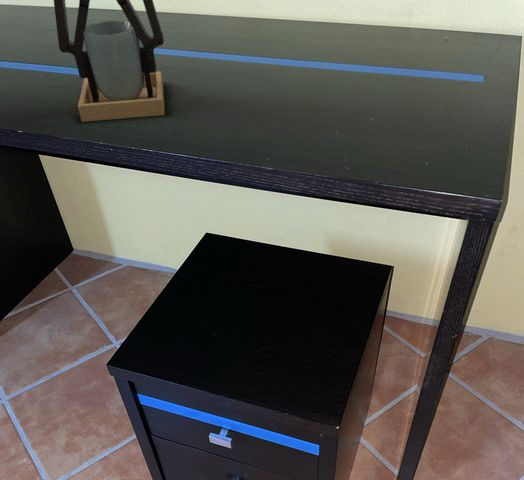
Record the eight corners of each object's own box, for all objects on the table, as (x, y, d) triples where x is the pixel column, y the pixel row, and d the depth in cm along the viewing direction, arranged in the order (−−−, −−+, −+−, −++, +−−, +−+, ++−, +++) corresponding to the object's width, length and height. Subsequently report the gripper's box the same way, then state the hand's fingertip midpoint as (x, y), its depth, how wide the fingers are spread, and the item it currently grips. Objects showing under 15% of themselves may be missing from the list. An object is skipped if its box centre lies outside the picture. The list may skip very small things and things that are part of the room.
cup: (157, 92, 85) (145, 22, 78) (130, 110, 80) (116, 37, 73) (117, 86, 87) (102, 17, 80) (89, 103, 82) (71, 32, 75)
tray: (82, 123, 80) (77, 106, 78) (88, 93, 88) (84, 76, 86) (164, 116, 81) (162, 99, 79) (163, 87, 89) (160, 71, 87)
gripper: (-4, -80, 64) (54, 111, 80) (167, -88, 65) (189, 100, 82) (8, -88, 69) (60, 93, 85) (165, -95, 71) (186, 83, 87)
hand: (123, 96), depth 84 cm, fingers closed on cup, 8 cm apart
